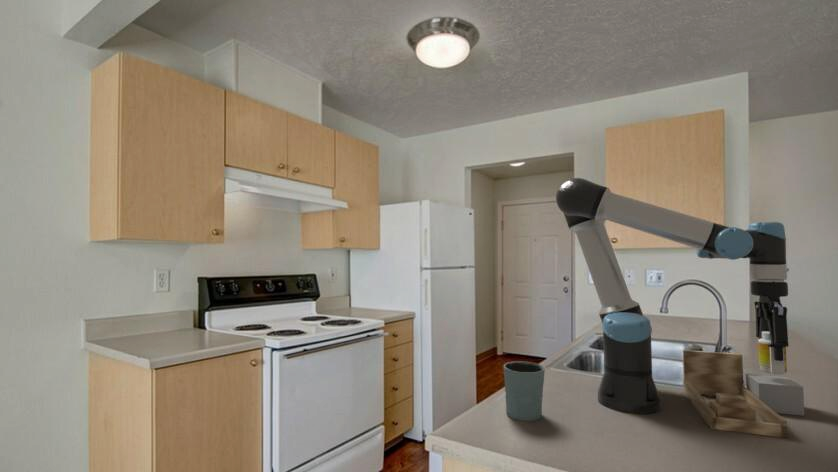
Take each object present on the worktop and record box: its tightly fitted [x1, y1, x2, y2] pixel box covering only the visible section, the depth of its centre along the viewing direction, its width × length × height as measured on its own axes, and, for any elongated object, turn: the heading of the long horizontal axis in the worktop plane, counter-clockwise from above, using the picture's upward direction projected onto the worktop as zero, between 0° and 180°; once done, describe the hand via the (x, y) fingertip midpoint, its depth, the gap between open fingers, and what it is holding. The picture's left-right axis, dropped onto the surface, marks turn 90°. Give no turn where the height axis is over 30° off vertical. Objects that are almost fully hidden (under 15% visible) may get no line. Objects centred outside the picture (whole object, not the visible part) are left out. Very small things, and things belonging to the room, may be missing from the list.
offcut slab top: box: [709, 400, 757, 421], centre depth 98 cm, size 8×4×2 cm, turn 77°
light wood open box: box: [682, 349, 788, 439], centre depth 107 cm, size 14×28×12 cm, turn 159°
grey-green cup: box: [503, 361, 546, 422], centre depth 105 cm, size 10×10×12 cm
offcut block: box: [715, 393, 747, 409], centre depth 98 cm, size 5×3×2 cm, turn 69°
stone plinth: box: [745, 373, 805, 416], centre depth 109 cm, size 9×9×7 cm
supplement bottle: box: [757, 331, 788, 375], centre depth 110 cm, size 6×6×10 cm
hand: (772, 369), depth 110 cm, fingers closed on supplement bottle, 6 cm apart
